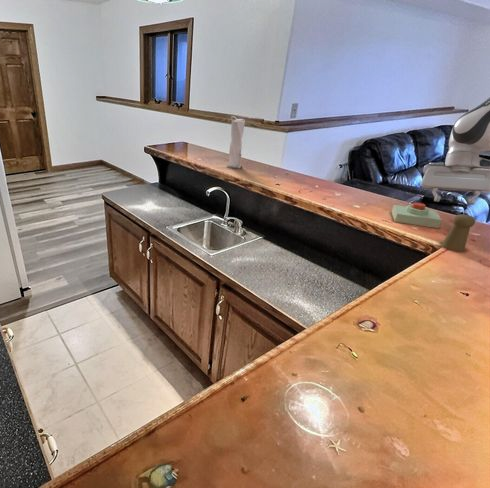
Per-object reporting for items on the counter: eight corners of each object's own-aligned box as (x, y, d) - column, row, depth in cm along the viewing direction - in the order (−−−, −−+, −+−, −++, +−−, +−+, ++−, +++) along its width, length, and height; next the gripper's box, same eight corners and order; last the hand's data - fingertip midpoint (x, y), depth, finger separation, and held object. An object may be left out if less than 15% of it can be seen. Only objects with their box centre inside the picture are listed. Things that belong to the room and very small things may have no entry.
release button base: (432, 218, 136) (437, 206, 134) (438, 228, 127) (443, 215, 125) (391, 212, 141) (395, 200, 139) (394, 221, 133) (398, 209, 130)
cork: (446, 250, 112) (460, 218, 107) (438, 242, 117) (450, 211, 112) (468, 252, 110) (483, 220, 105) (458, 244, 116) (472, 213, 111)
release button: (423, 207, 133) (424, 203, 132) (425, 211, 130) (426, 206, 129) (410, 206, 135) (412, 201, 134) (412, 209, 131) (414, 205, 131)
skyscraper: (225, 167, 203) (230, 116, 191) (227, 164, 210) (232, 115, 198) (240, 168, 201) (245, 117, 188) (241, 165, 208) (247, 115, 195)
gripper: (426, 159, 124) (419, 197, 124) (502, 162, 115) (494, 203, 114) (423, 164, 130) (416, 201, 130) (495, 168, 120) (487, 207, 120)
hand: (453, 202), depth 122 cm, fingers open, 8 cm apart
